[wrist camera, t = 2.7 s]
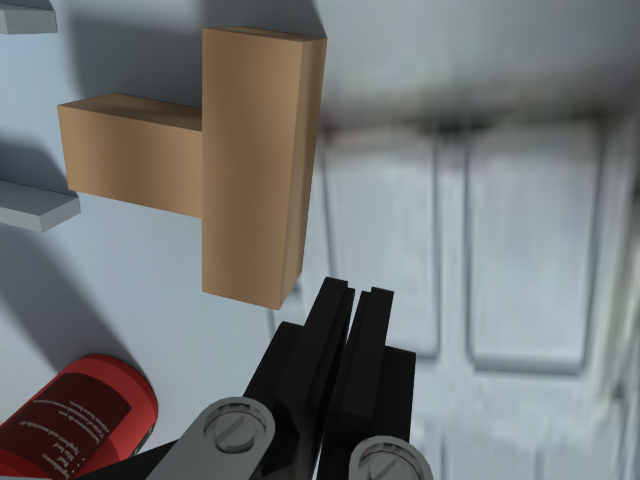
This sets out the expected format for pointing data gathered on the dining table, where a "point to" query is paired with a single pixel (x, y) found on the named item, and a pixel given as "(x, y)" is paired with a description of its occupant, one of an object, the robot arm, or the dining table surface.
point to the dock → (15, 199)
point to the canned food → (79, 421)
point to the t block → (217, 156)
